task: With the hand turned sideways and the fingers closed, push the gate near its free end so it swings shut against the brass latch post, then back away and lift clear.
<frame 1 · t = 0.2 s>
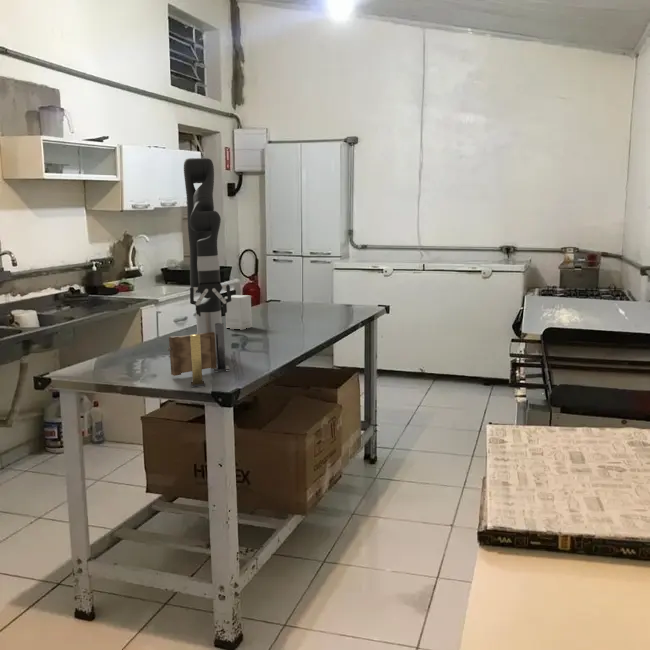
hand: (211, 315, 244), 18 cm above the table, tool pointing down, fingers open, 8 cm apart
gate: (192, 353, 230), point 7 cm above the table, hinge at -40.0°
supplement box: (239, 328, 320), on the table
hinge post: (221, 369, 237), on the table
latch post: (197, 385, 217), on the table
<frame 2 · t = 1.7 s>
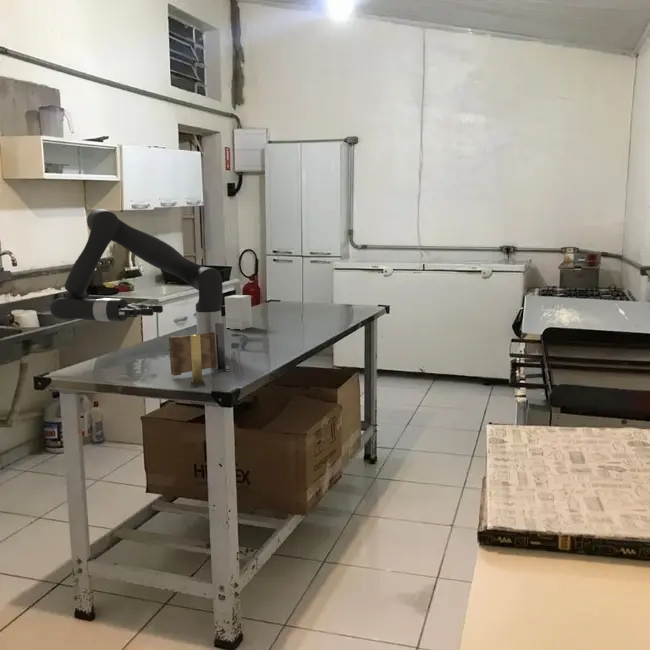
hand: (157, 310, 226), 22 cm above the table, tool horizontal, fingers open, 6 cm apart
nothing on the table moved.
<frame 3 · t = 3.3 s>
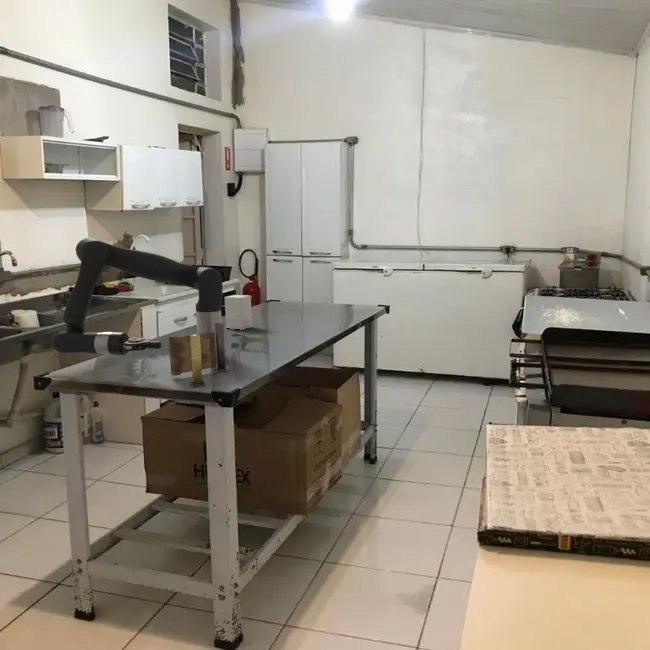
hand: (160, 345, 227), 11 cm above the table, tool horizontal, fingers closed
nothing on the table moved.
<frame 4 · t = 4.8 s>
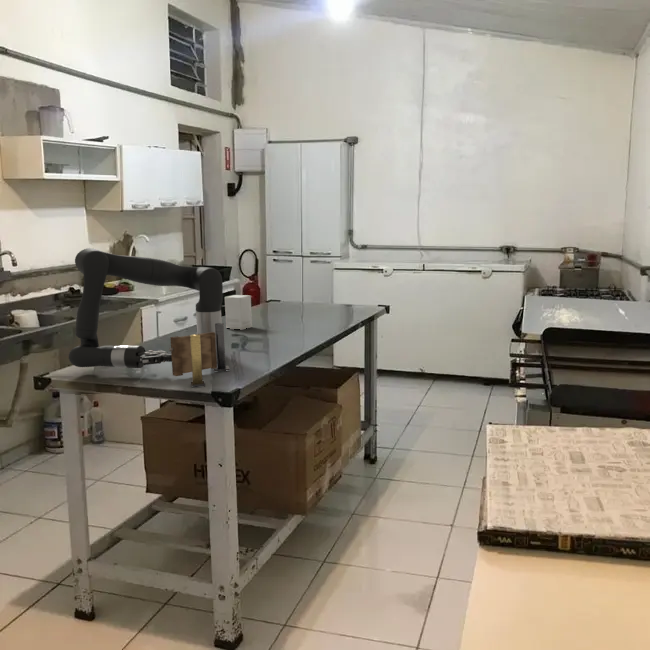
hand: (176, 358, 227), 6 cm above the table, tool horizontal, fingers closed
gate: (193, 353, 229), point 7 cm above the table, hinge at -36.3°, touching gripper
everything else where it was.
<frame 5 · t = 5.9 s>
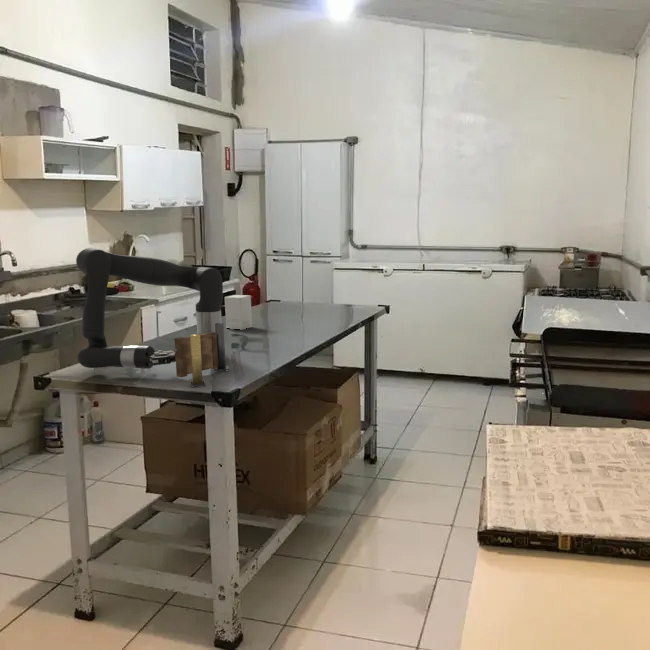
hand: (186, 358, 226), 7 cm above the table, tool horizontal, fingers closed
gate: (195, 353, 228), point 8 cm above the table, hinge at -28.2°, touching gripper
everything else where it was.
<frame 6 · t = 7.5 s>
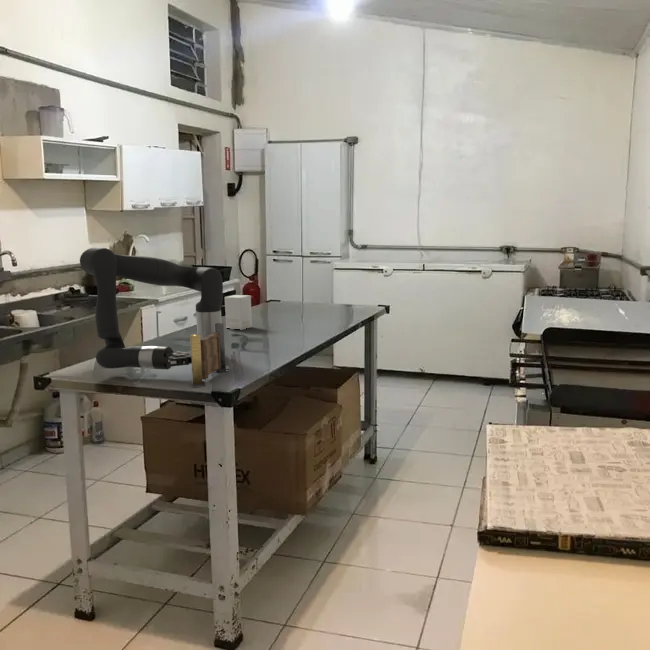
hand: (205, 359, 224), 6 cm above the table, tool horizontal, fingers closed
gate: (209, 355, 226), point 7 cm above the table, hinge at 0.4°, touching gripper
everything else where it was.
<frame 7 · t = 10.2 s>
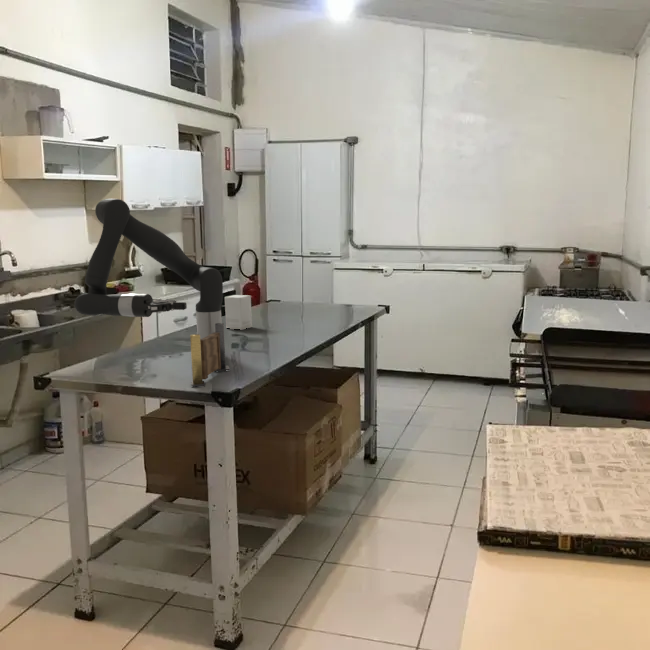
hand: (185, 306, 223), 24 cm above the table, tool horizontal, fingers closed
gate: (209, 355, 226), point 7 cm above the table, hinge at 0.3°
everything else where it was.
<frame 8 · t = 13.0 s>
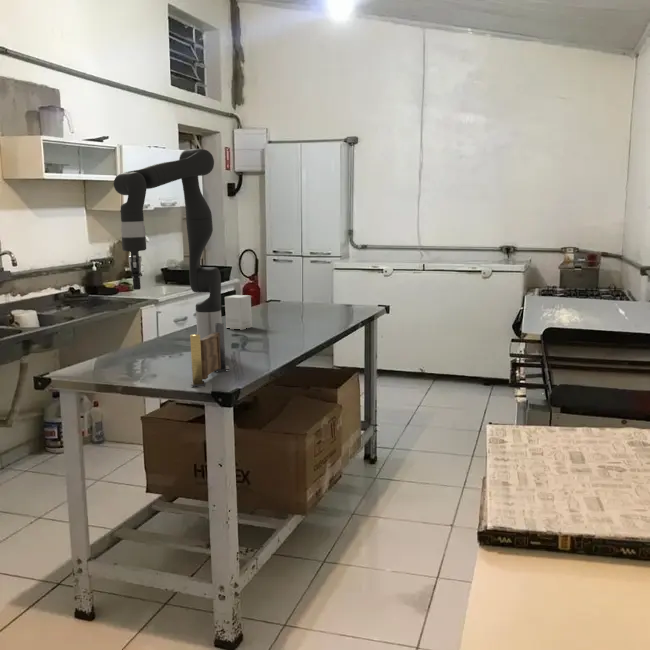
hand: (137, 289, 227), 29 cm above the table, tool pointing down, fingers closed
nothing on the table moved.
at the end: gate at +0° (first picture: -40°) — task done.
